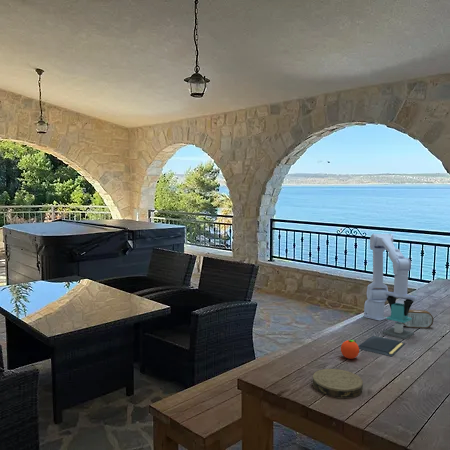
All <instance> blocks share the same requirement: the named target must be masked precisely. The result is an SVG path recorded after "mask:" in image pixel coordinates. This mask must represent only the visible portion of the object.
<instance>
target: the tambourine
mask: <svg viewBox="0 0 450 450" xmlns="http://www.w3.org/2000/svg"><path fill="white" fill-rule="evenodd" d="M363 385H364V381H363V380H362V377H360V376H359V375H358V374H356V373H353V372H351V371H347V370H344V369H338V368H323V369H320V370H316V371H315V372H314V373H313V375H312V386H313V388H314V389H315V390H316V391H317V392H319V393H321V394H323V395H326V396H329V397H332V398H338V399H350V398H356V397H358V396H360V395H361V394H363V390H364V389H363Z"/></svg>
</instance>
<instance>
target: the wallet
mask: <svg viewBox="0 0 450 450" xmlns="http://www.w3.org/2000/svg"><path fill="white" fill-rule="evenodd" d="M405 345H406V343H405V342H402V341H399V340H396V339H392V338H391V339H390V338H386V337H381V336H377V335H372V336H370V337H368V338H367V339H366V340H365V341H363V342H362V343H360V344H358V347H359V350H360V351H365V352H370V353H374V354H377V355H381V356H386V357H391V358H393V356H395V355H396V354H397V353H398V352H399V351H400V350H401V349H402V348H403V347H404V346H405Z"/></svg>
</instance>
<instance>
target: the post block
mask: <svg viewBox="0 0 450 450" xmlns="http://www.w3.org/2000/svg"><path fill="white" fill-rule="evenodd" d="M382 334H383V335H386V336H390V337H395V338H398V339H401V340H406V339H408V338H410V337H412V336H414V335H415V332H414V331H410V330H406V329H404V324H403V323H401V322H397V321H395V323H394V326H392V327H390V328H388V329H386V330H383V331H382Z"/></svg>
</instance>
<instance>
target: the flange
mask: <svg viewBox="0 0 450 450" xmlns="http://www.w3.org/2000/svg"><path fill="white" fill-rule="evenodd" d="M404 309H405V308H404V303H400V302H396V303H394V304H392V305H391V308H390V315H389V316H386V317H387V318H386V320H390V321H393V322H399V323H406V322H408V321H410V320H412V318H409V317H408V315H407V316H404Z"/></svg>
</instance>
